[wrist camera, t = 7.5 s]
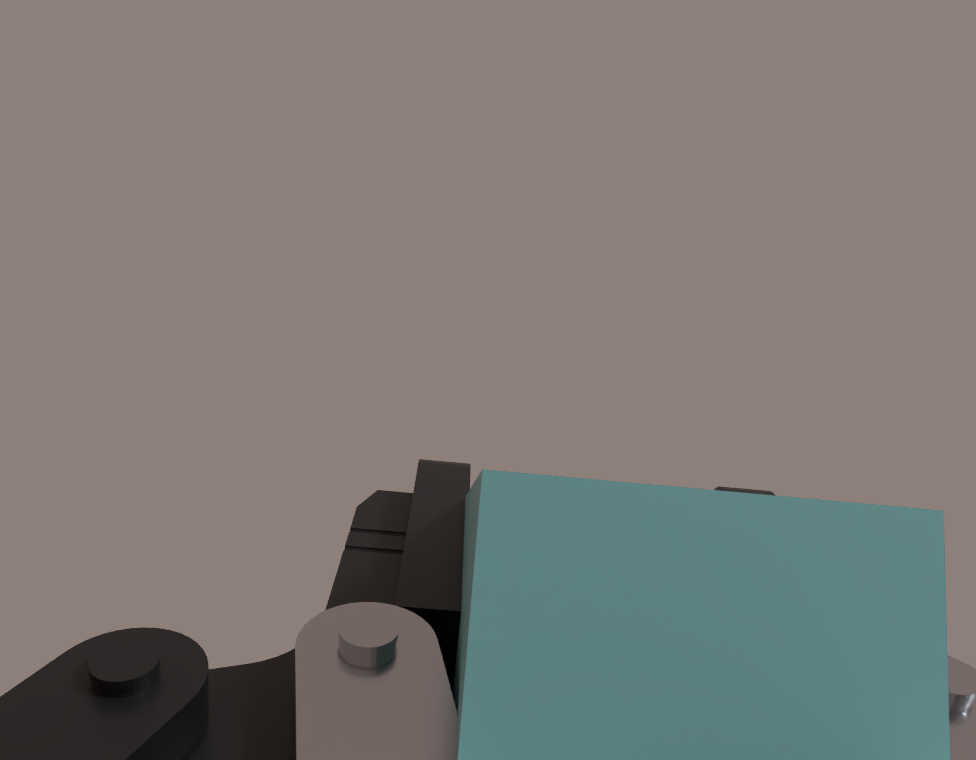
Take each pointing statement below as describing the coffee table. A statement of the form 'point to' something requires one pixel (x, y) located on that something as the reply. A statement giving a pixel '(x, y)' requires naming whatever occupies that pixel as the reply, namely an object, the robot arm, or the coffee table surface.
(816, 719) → the bar
